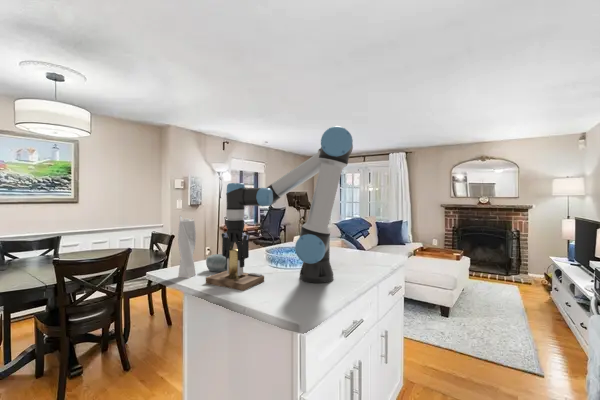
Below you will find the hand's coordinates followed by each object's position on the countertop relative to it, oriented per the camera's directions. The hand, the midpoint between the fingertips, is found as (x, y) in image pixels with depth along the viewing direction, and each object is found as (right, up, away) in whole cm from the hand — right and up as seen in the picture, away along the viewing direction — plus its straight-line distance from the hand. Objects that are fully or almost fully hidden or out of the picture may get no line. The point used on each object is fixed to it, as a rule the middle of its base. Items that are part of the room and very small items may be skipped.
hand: (235, 273), depth 124 cm
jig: (0, -4, 0) cm, 4 cm away
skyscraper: (-24, -4, +9) cm, 26 cm away
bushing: (0, -2, 0) cm, 2 cm away
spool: (-12, -4, +19) cm, 22 cm away
